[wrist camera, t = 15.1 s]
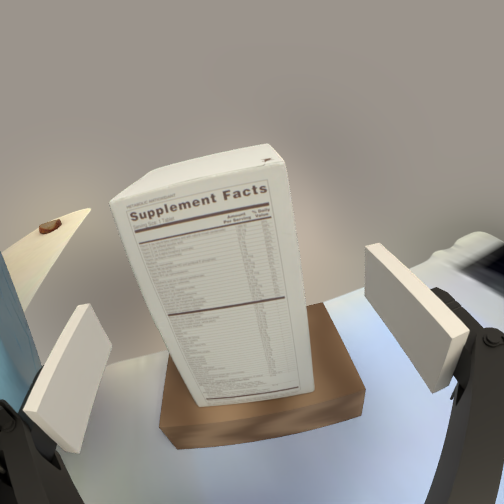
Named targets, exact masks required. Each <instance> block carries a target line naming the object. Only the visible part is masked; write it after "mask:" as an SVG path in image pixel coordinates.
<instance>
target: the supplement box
mask: <svg viewBox="0 0 504 504" xmlns="http://www.w3.org/2000/svg"><path fill="white" fill-rule="evenodd" d="M109 206H110V209H111V212H112V215H113V218H114V221H115V224H116V227H117V230H118V233H119V235H120V238H121V241H122V244H123V247H124V249H125V252H126V255H127V257H128V260H129V263H130V265H131V267H132V270H133V273H134V275H135V278H136V280H137V283H138V285H139V288H140V290H141V292H142V295H143V297H144V300H145V302H146V304H147V307H148V309H149V311H150V314H151V316H152V319H153V321H154V323H155V324H156V326H157V328H158V330H159V332H160V334H161V336H162V338H163V340H164V343H165V345H166V347H167V349H168V351H169V353H170V355H171V357H172V359H173V361H174V363H175V365H176V367H177V369H178V371H179V373H180V375H181V377H182V378H183V380H184V382H185V384H186V386H187V388H188V390H189V392H190V394H191V395H192V397H193V399H194V401H195V402H196V404H197V405H198V406H199V407H207V406H219V405H229V404H239V403H248V402H255V401H263V400H270V399H276V398H282V397H288V396H294V395H299V394H305V393H310V392H313V391H314V390H315V388H314V378H313V368H312V357H311V347H310V336H309V326H308V317H307V308H306V301H305V293H304V285H303V276H302V268H301V260H300V253H299V246H298V240H297V233H296V227H295V219H294V214H293V206H292V200H291V193H290V187H289V181H288V175H287V169H286V165H285V162H284V160H283V159H282V158H281V156H280V155H279V154H278V153H277V152H276V151H275V150H274V149H273V148H272V147H271V146H270V144H262V145H256V146H251V147H246V148H240V149H235V150H231V151H226V152H221V153H217V154H212V155H208V156H203V157H199V158H195V159H191V160H186V161H183V162H179V163H175V164H171V165H167V166H164V167H160V168H157V169H154V170H152V171H150V172H149V173H147V174H146V175H145V176H143V177H142V178H141V179H139V180H138V181H136V182H135V183H133V184H132V185H130V186H129V187H127V188H126V189H125V190H123V191H122V192H121V193H119V194H118V195H117V196H116V197H114V198H113V199H112V200H111V201H110V202H109Z"/></svg>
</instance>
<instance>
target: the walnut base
mask: <svg viewBox="0 0 504 504" xmlns="http://www.w3.org/2000/svg"><path fill="white" fill-rule="evenodd" d="M306 308H307V317H308V326H309V336H310V347H311V357H312V368H313V378H314V388H315V390H314V391H313V392H310V393H305V394H299V395H294V396H288V397H282V398H276V399H270V400H263V401H255V402H248V403H239V404H229V405H219V406H207V407H199V406H198V405H197V404H196V402H195V401H194V399H193V397H192V395H191V394H190V392H189V390H188V388H187V386H186V384H185V382H184V380H183V378H182V377H181V375H180V373H179V371H178V369H177V367H176V365H175V363H174V361H173V359H172V357H171V355H170V353H169V358H168V365H167V371H166V378H165V385H164V392H163V400H162V407H161V415H160V424H159V428H160V429H161V430H162V432H163V433H164V434H165V435H166V436H167V438H168V439H169V440H170V441H171V443H172V444H173V445H174V446H175V447H176V448H177V449H192V448H205V447H216V446H225V445H233V444H240V443H247V442H254V441H260V440H266V439H271V438H277V437H282V436H286V435H291V434H296V433H300V432H305V431H309V430H313V429H317V428H321V427H324V426H328V425H332V424H335V423H339V422H342V421H346V420H349V419H352V418H355V417H358V416H361V414H362V409H363V403H364V397H365V391H366V389H365V386H364V384H363V382H362V380H361V378H360V376H359V374H358V372H357V370H356V368H355V366H354V364H353V362H352V360H351V357H350V355H349V353H348V351H347V349H346V347H345V345H344V343H343V341H342V339H341V337H340V335H339V333H338V331H337V329H336V327H335V325H334V323H333V321H332V319H331V317H330V315H329V314H328V312H327V310H326V308H325V306H324V304H323V302H322V303H318V304H314V305H309V306H306Z"/></svg>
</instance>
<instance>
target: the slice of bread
mask: <svg viewBox="0 0 504 504" xmlns="http://www.w3.org/2000/svg"><path fill="white" fill-rule="evenodd" d="M61 224H62V223H61V221H60V219H57V220H54V221H50V222H47V223H44V224H41V225H40V226H39V231H40V233H42V234H47V233H50V232H52V231H54V230H56V229H57V228H58V227H59V226H60V225H61Z"/></svg>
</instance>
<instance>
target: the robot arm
mask: <svg viewBox="0 0 504 504" xmlns="http://www.w3.org/2000/svg"><path fill="white" fill-rule="evenodd" d="M365 297H366V299H367V300H368V301H369V303H370V304H371V305H372V307H373V308H374V309H375V311H376V312H377V314H378V315H379V316H380V318H381V319H382V320H383V322H384V323H385V325H386V326H387V327H388V329H389V330H390V332H391V333H392V334H393V336H394V337H395V339H396V340H397V342H398V343H399V345H400V346H401V347H402V349H403V350H404V352H405V353H406V355H407V356H408V358H409V359H410V361H411V362H412V364H413V365H414V367H415V368H416V370H417V371H418V373H419V374H420V376H421V377H422V379H423V380H424V382H425V383H426V385H427V386H428V388H429V389H430V391H431V393H432V394H433V393H435V392H437V391H439V390H441V389H443V388H445V387H447V386H449V384H450V381H451V379H452V377H453V375H454V377H455V378H456V380H457V381H458V383H457V385H456V387H455V389H454V391H453V393H452V395H451V398H450V400H452V399H453V398H454V400H453V405H452V411H451V416H450V420H449V425H448V429H447V433H446V438H445V442H444V445H443V449H442V453H441V456H440V460H439V463H438V466H437V469H436V473H435V476H434V479H433V482H432V485H431V487H430V490H429V493H428V496H427V498H426V501H425V503H424V504H495V501H496V498H497V494H498V489H499V485H500V480H501V475H502V470H503V464H504V333H503V332H501V331H500V330H498V329H495V328H483V327H482V326H481V325H480V324H479V323H478V322H477V321H476V320H475V319H474V318H473V317H472V316H471V315H470V314H469V313H468V312H467V311H466V310H465V309H464V308H463V307H461V305H460V304H459V303H458V302H457V301H455V299H454V298H453V297H452V296H451V295H450V294H449V293H447V292H446V291H443V290H441V289H439V288H437V287H436V288H433V289H429V288H428V287H427V286H426V285H425V284H424V283H423V282H422V281H421V280H420V279H419V278H418V277H416V276H415V275H414V274H413V273H412V272H411V271H410V270H409V269H408V268H407V267H406V266H405V265H404V264H402V263H401V262H400V261H399V260H398V259H397V258H396V257H395V256H394V255H392V254H391V253H390V252H389V251H388V250H387V249H386V248H384V247H383V246H382V245H381V244H380V243H377V244H372V245H368V246H365ZM111 349H112V344H111V342H110V340H109V339H108V337H107V335H106V333H105V332H104V330H103V328H102V326H101V324H100V322H99V320H98V318H97V316H96V314H95V313H94V311H93V309H92V307H91V305H90V304H83V305H78V306H77V308H76V309H75V311H74V313H73V314H72V316H71V318H70V319H69V321H68V323H67V325H66V326H65V328H64V330H63V331H62V333H61V335H60V337H59V339H58V340H57V342H56V344H55V346H54V348H53V349H52V351H51V353H50V355H49V357H48V359H47V361H46V363H45V365H43V366H42V365H41V362H40V359H39V356H38V353H37V350H36V347H35V344H34V341H33V338H32V335H31V332H30V329H29V326H28V324H27V321H26V318H25V315H24V312H23V309H22V307H21V304H20V301H19V298H18V296H17V293H16V290H15V287H14V285H13V282H12V279H11V277H10V274H9V271H8V269H7V266H6V264H5V261H4V259H3V256H2V254H1V252H0V504H84V502H83V500H82V499H81V497H80V495H79V493H78V491H77V489H76V487H75V486H74V484H73V482H72V480H71V478H70V476H69V474H68V471H67V469H66V467H65V465H64V463H63V461H62V459H61V456H60V455H59V453H58V452H57V451H56V450H55V449H56V445H58V446H60V447H61V448H62V449H63V450H64V451H65V452H71V453H78V454H80V450H81V446H82V443H83V439H84V435H85V431H86V428H87V424H88V420H89V417H90V413H91V410H92V407H93V403H94V400H95V397H96V394H97V390H98V387H99V384H100V381H101V378H102V375H103V372H104V369H105V366H106V363H107V360H108V357H109V355H110V352H111Z"/></svg>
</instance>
